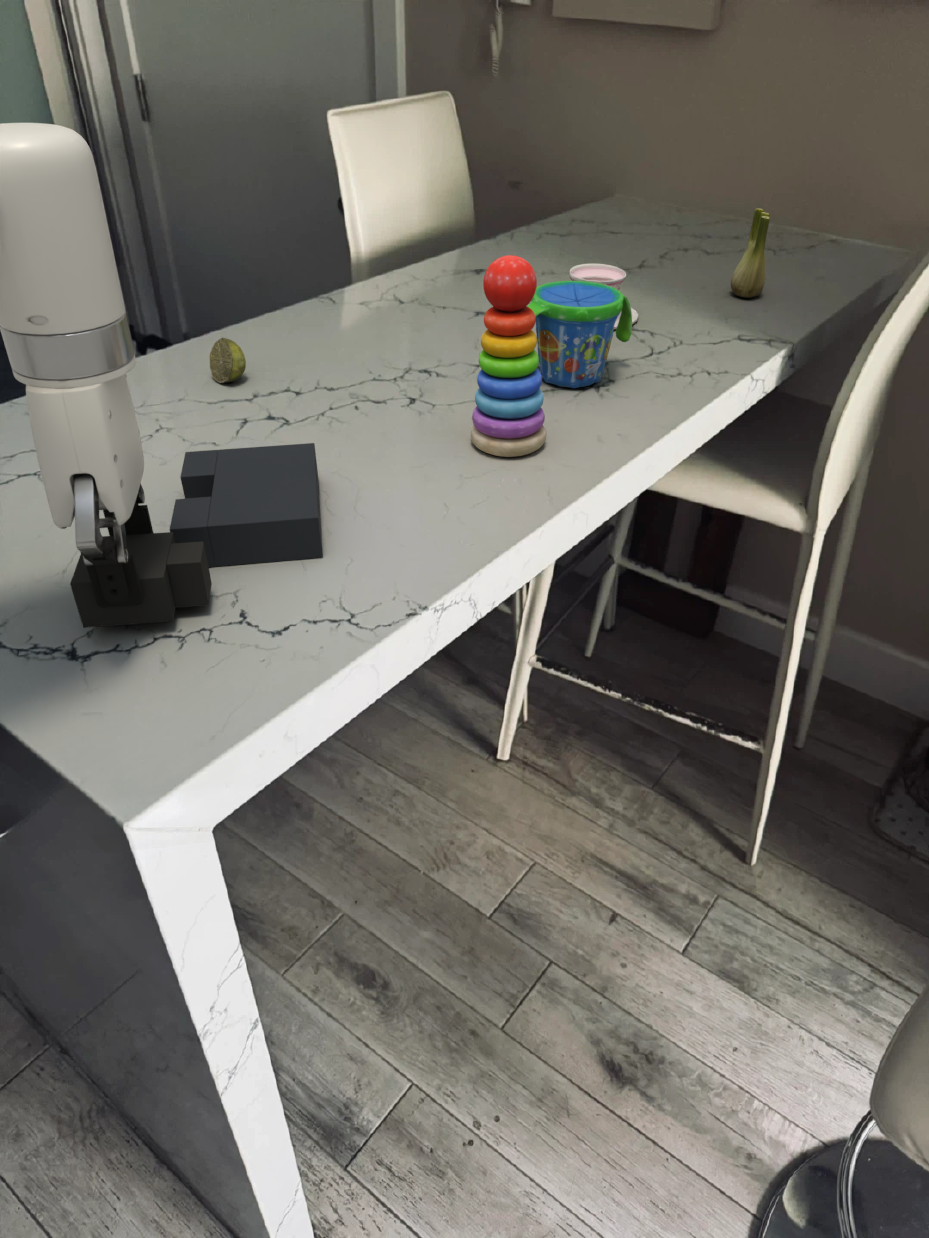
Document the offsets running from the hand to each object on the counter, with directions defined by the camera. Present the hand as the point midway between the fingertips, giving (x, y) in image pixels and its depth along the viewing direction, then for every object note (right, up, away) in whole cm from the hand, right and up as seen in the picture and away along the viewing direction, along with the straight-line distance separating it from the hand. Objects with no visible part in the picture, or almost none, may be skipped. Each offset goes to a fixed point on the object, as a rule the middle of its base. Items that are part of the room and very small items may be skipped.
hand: (128, 575), depth 67 cm
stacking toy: (+30, +15, +26) cm, 42 cm away
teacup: (+44, +39, +57) cm, 82 cm away
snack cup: (+39, +26, +40) cm, 61 cm away
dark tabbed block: (+1, -2, +2) cm, 3 cm away
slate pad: (+7, +6, +13) cm, 15 cm away
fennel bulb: (+68, +45, +65) cm, 104 cm away
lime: (-3, +25, +39) cm, 47 cm away
